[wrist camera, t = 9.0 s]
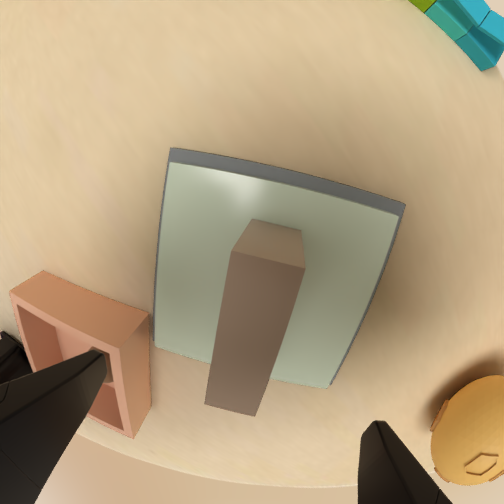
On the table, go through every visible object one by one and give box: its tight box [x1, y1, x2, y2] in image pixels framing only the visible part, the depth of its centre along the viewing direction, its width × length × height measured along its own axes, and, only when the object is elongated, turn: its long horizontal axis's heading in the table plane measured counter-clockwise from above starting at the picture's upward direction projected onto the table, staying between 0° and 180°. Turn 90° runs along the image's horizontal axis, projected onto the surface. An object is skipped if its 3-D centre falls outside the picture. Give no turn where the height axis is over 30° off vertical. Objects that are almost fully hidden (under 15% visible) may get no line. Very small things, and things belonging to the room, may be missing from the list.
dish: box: [9, 271, 151, 439], centre depth 19 cm, size 11×11×5 cm
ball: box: [88, 346, 114, 383], centre depth 18 cm, size 3×3×3 cm
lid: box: [155, 162, 399, 416], centre depth 13 cm, size 12×12×6 cm
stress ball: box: [430, 375, 504, 485], centre depth 13 cm, size 10×10×10 cm
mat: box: [153, 148, 406, 385], centre depth 16 cm, size 13×13×1 cm
